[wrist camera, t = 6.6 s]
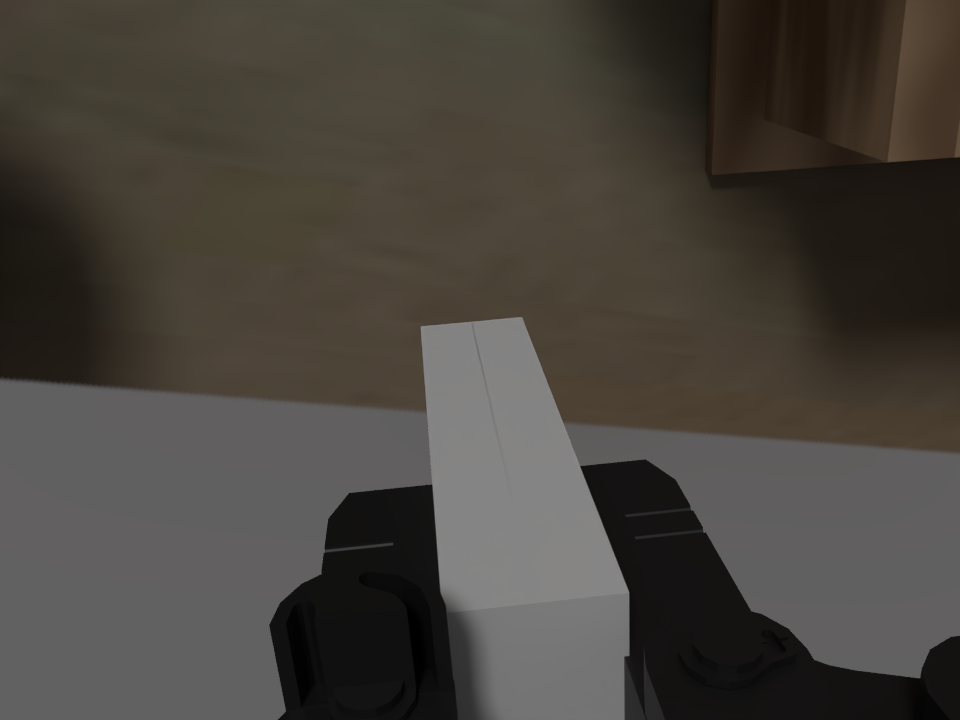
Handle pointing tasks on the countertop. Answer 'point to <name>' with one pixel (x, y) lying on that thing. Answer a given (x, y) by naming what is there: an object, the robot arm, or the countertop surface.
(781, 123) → the chute
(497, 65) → the countertop surface
